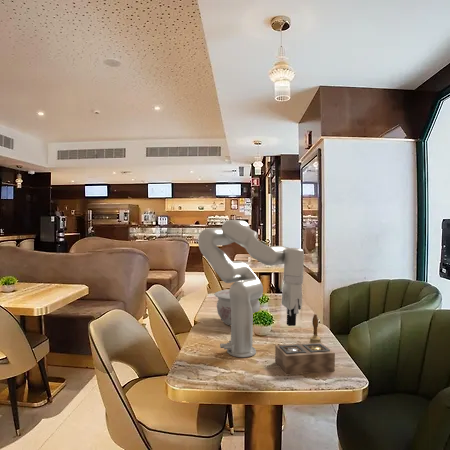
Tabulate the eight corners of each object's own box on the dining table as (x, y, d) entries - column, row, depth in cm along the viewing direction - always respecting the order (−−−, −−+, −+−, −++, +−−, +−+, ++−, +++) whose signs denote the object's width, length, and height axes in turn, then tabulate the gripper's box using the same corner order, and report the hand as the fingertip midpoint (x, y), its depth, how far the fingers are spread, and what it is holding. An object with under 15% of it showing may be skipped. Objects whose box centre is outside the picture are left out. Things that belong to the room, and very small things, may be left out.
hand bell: (321, 354, 154) (322, 317, 154) (303, 350, 158) (303, 315, 158) (327, 348, 161) (327, 313, 161) (309, 345, 165) (309, 311, 165)
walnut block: (285, 374, 132) (286, 355, 132) (275, 362, 144) (275, 344, 144) (334, 370, 136) (334, 352, 136) (320, 359, 148) (320, 341, 148)
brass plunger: (313, 367, 139) (313, 350, 139) (308, 363, 143) (309, 346, 143) (322, 367, 140) (322, 349, 140) (318, 363, 144) (318, 346, 144)
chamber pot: (264, 331, 185) (265, 292, 185) (212, 330, 186) (213, 291, 186) (260, 317, 213) (260, 283, 213) (215, 316, 214) (215, 282, 214)
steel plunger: (289, 369, 137) (289, 351, 137) (285, 365, 141) (285, 348, 141) (299, 368, 138) (299, 351, 138) (295, 364, 142) (295, 347, 142)
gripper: (277, 275, 146) (275, 319, 146) (291, 283, 131) (289, 331, 132) (294, 276, 147) (292, 319, 148) (310, 283, 133) (307, 331, 133)
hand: (291, 325), depth 140 cm, fingers closed
